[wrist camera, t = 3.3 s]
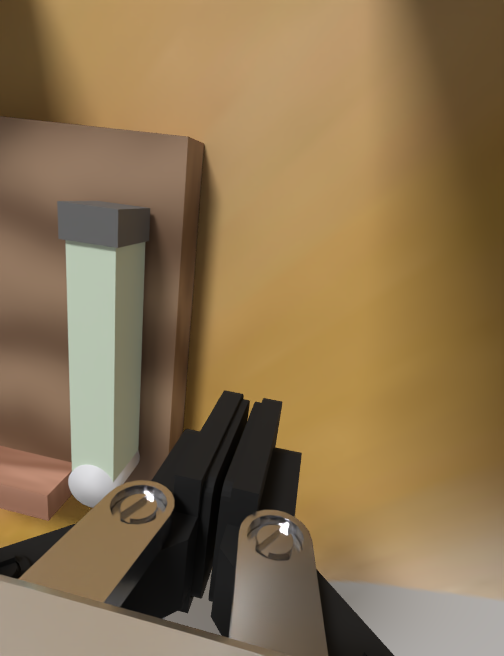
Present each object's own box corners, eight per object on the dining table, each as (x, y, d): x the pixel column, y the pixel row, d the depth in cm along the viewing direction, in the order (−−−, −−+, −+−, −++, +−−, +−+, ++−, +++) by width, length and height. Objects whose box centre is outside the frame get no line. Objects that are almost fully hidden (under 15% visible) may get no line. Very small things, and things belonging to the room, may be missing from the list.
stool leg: (140, 475, 25) (114, 512, 22) (98, 465, 26) (67, 501, 22) (150, 208, 20) (118, 209, 17) (97, 200, 20) (57, 200, 17)
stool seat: (-92, 111, 24) (-209, 86, 19) (204, 143, 21) (163, 125, 16) (-48, 433, 31) (-124, 480, 26) (178, 487, 28) (144, 551, 23)
